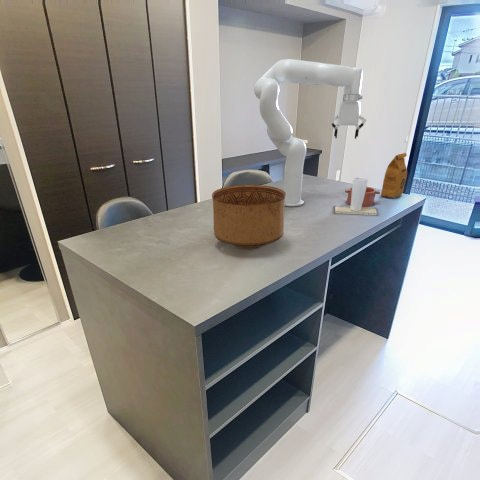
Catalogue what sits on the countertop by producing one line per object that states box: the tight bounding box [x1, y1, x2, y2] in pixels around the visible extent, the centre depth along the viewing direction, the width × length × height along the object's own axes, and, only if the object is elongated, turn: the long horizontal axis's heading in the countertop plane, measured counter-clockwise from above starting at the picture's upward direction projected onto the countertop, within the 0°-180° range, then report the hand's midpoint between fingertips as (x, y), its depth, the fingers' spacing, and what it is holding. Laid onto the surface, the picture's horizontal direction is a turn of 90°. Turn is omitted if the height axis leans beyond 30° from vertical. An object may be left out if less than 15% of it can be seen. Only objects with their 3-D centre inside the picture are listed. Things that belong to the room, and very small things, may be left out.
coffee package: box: [380, 152, 408, 199], centre depth 193 cm, size 10×12×22 cm
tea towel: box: [334, 205, 378, 216], centre depth 178 cm, size 20×12×1 cm, turn 77°
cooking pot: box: [344, 186, 381, 207], centre depth 187 cm, size 18×14×7 cm
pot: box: [211, 184, 286, 250], centre depth 138 cm, size 28×28×20 cm
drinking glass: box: [349, 176, 369, 211], centre depth 174 cm, size 7×7×15 cm
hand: (345, 138), depth 180 cm, fingers open, 9 cm apart
